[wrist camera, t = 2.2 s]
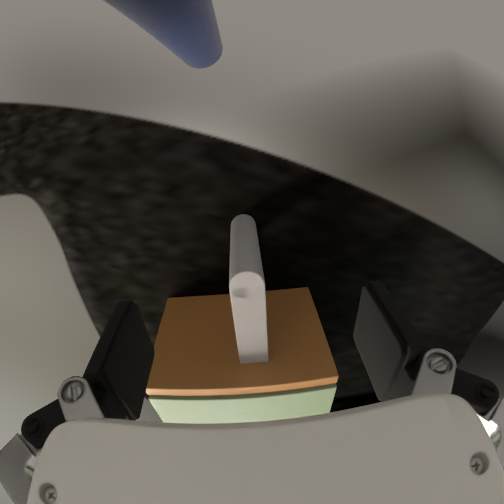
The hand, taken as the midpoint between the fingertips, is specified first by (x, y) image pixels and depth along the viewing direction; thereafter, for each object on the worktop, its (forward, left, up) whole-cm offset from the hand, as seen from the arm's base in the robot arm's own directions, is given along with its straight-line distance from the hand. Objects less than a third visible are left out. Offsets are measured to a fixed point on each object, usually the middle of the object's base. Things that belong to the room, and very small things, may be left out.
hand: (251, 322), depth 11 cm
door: (+3, -1, -14) cm, 14 cm away
